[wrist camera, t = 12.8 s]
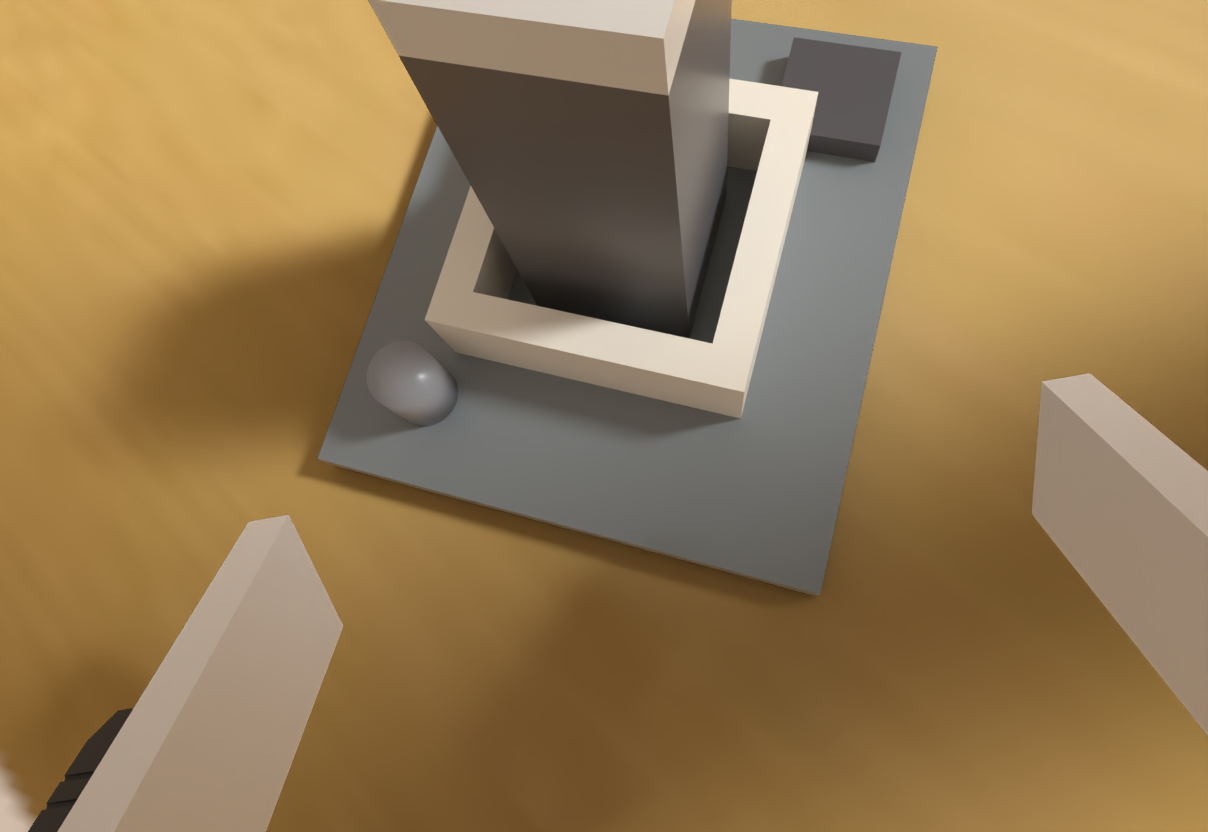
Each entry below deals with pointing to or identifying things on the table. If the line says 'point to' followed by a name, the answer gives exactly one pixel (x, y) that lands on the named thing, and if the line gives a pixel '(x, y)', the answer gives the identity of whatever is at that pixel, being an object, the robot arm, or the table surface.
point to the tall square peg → (585, 139)
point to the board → (663, 335)
